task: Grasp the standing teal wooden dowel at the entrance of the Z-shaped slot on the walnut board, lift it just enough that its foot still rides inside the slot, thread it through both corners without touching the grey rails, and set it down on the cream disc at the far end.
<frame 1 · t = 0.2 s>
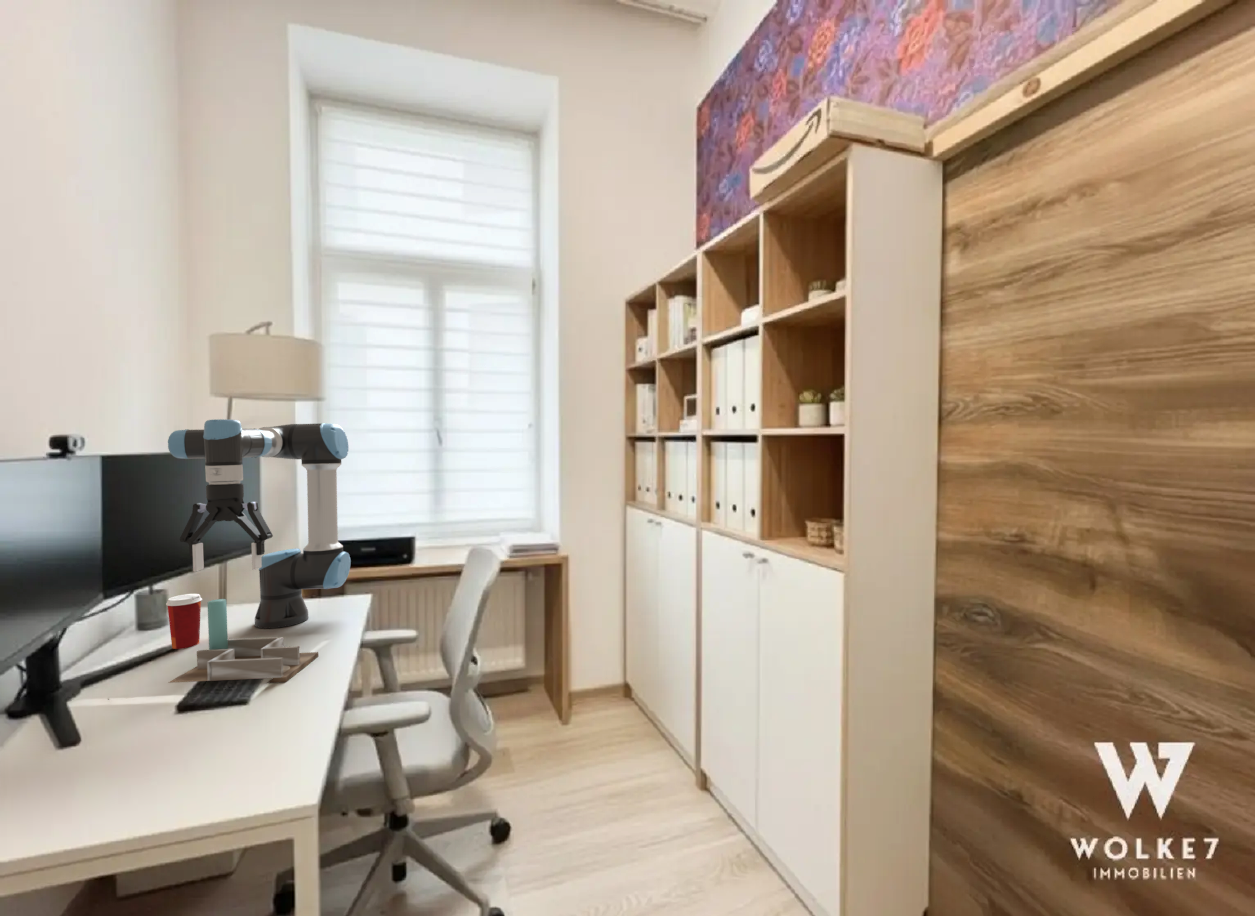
hand: (227, 569, 141), 27 cm above the table, fingers open, 13 cm apart
coffee cup: (185, 649, 164), on the table
teal dowel: (219, 662, 150), point 1 cm above the table, touching slot board
slot board: (248, 670, 147), on the table
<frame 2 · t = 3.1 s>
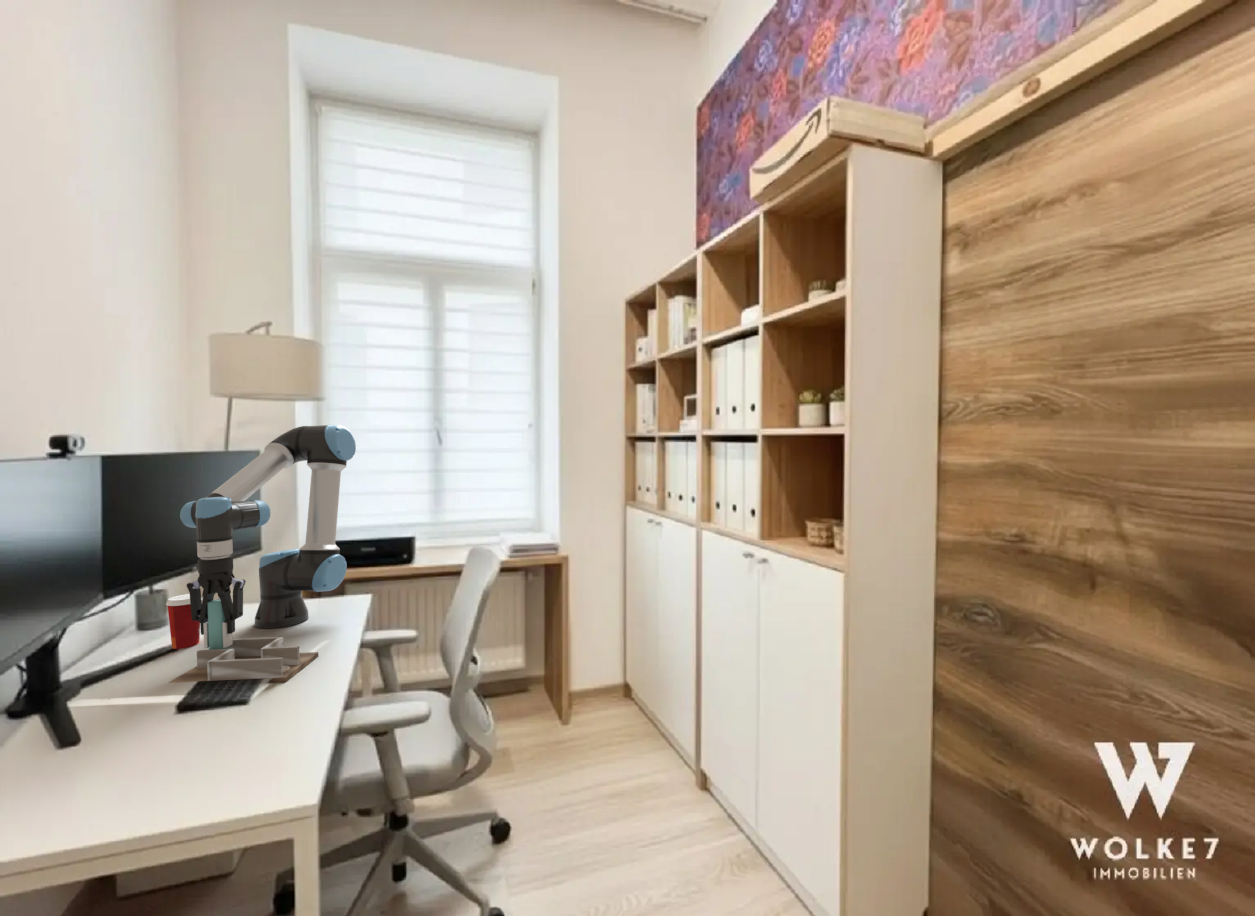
hand: (218, 645, 150), 5 cm above the table, fingers closed on teal dowel, 4 cm apart
teal dowel: (219, 662, 151), point 1 cm above the table, touching gripper, slot board
everything else where it was.
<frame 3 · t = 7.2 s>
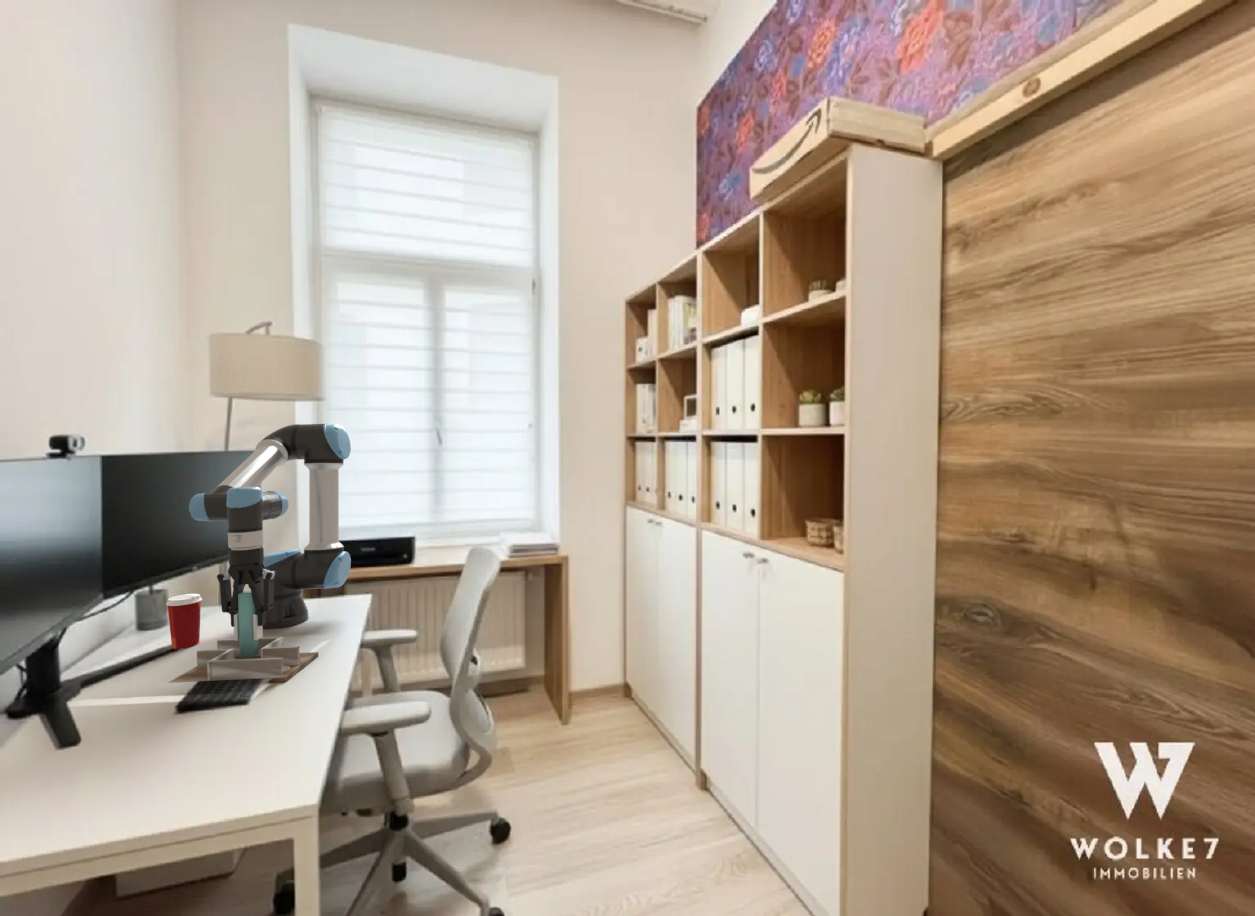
hand: (248, 638, 148), 8 cm above the table, fingers closed on teal dowel, 4 cm apart
teal dowel: (249, 654, 148), point 4 cm above the table, touching gripper
everything else where it was.
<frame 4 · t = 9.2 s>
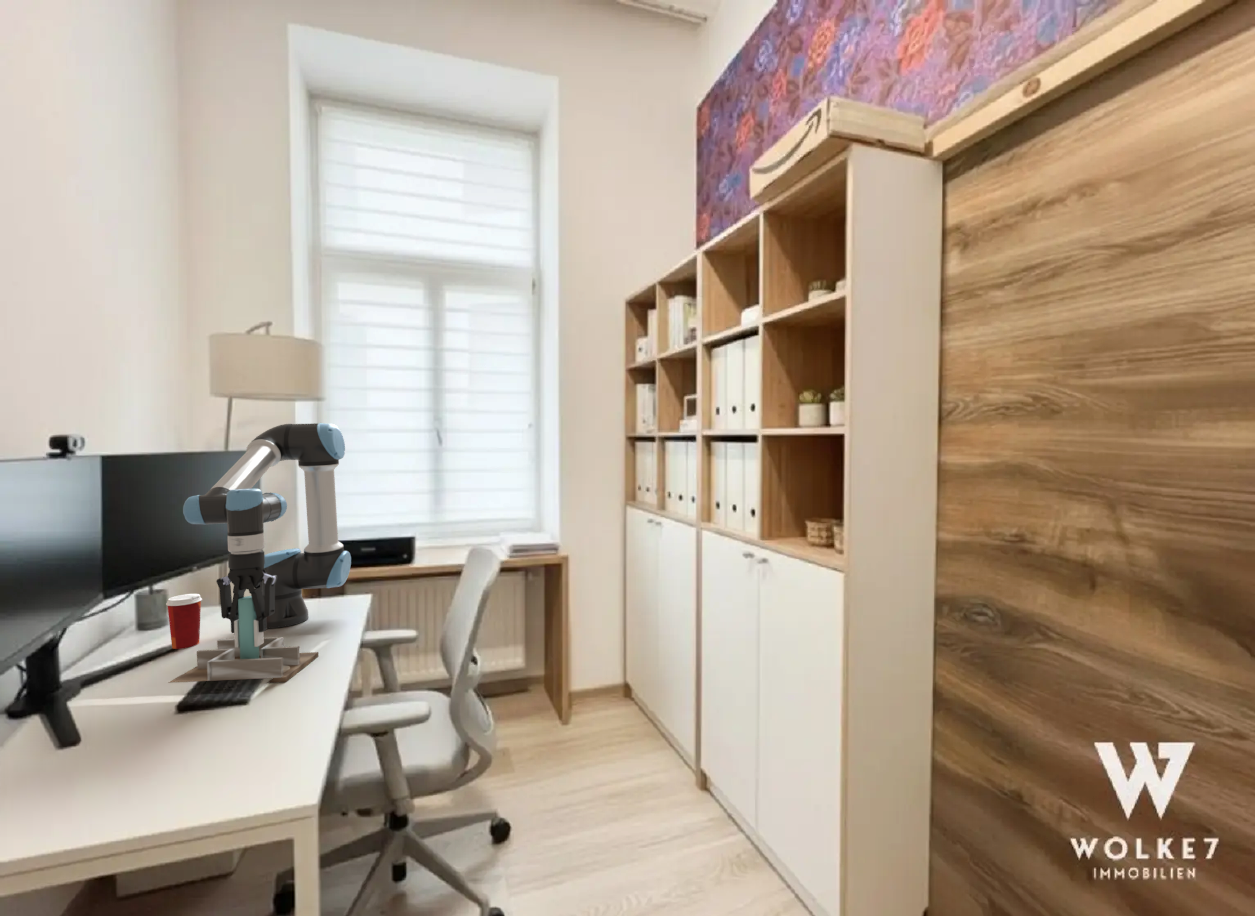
hand: (249, 644, 143), 8 cm above the table, fingers closed on teal dowel, 4 cm apart
teal dowel: (249, 661, 143), point 4 cm above the table, touching gripper
everything else where it was.
when the fingers open (6 cm above the table, at t = 11.1 s): teal dowel stays where it is, resting on slot board.
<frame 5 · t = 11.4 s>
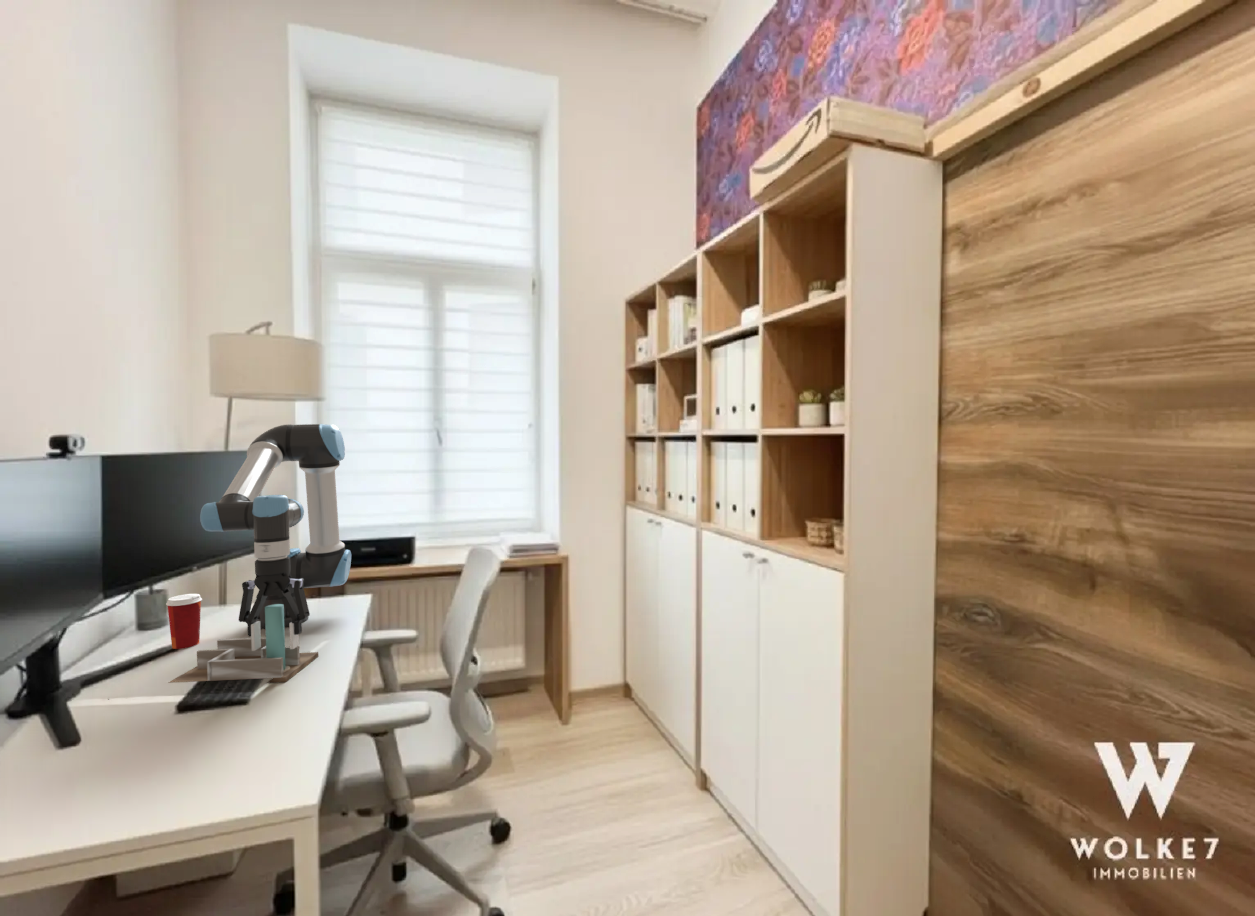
hand: (275, 648, 144), 7 cm above the table, fingers open, 8 cm apart
teal dowel: (276, 670, 144), point 1 cm above the table, touching slot board
everything else where it was.
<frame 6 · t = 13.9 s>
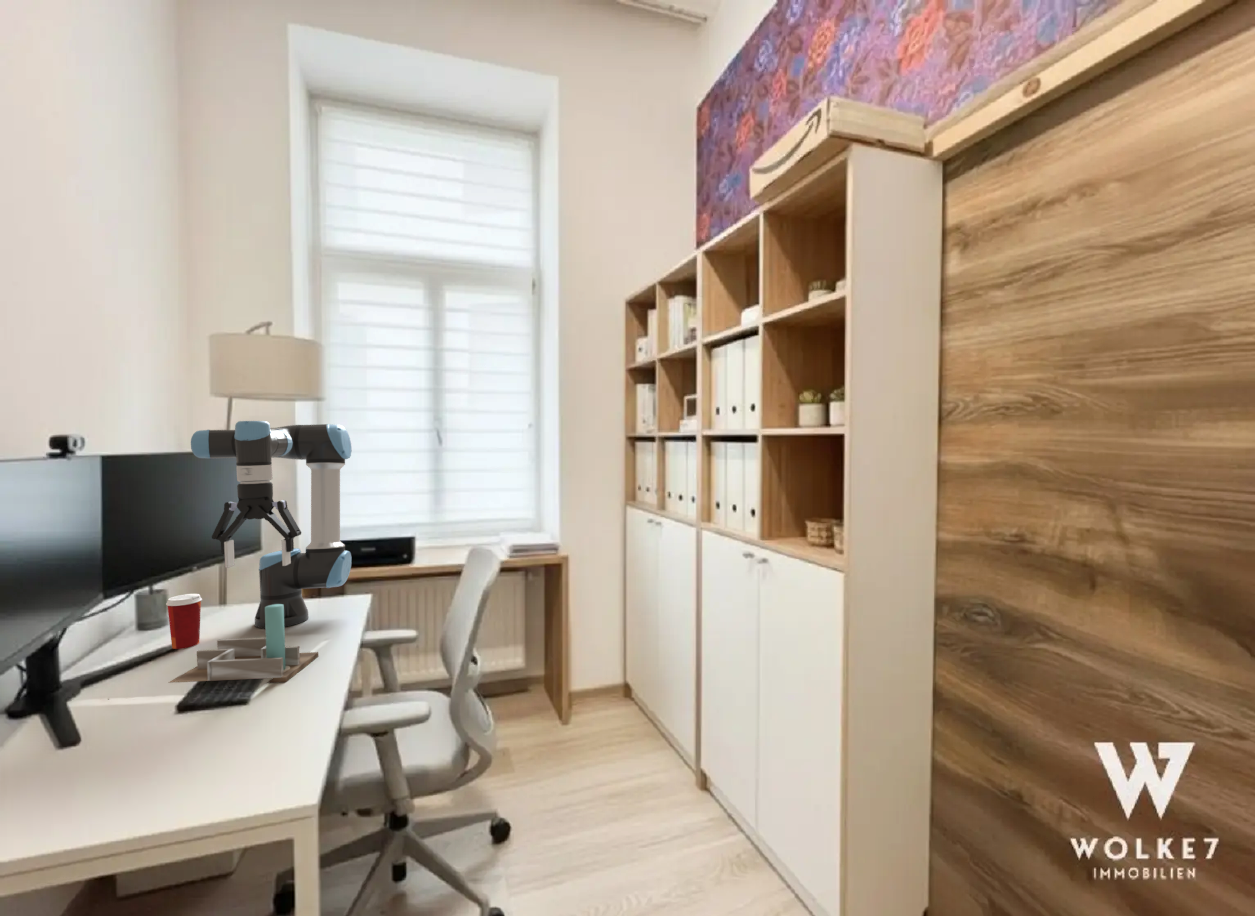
hand: (258, 565, 146), 27 cm above the table, fingers open, 13 cm apart
nothing on the table moved.
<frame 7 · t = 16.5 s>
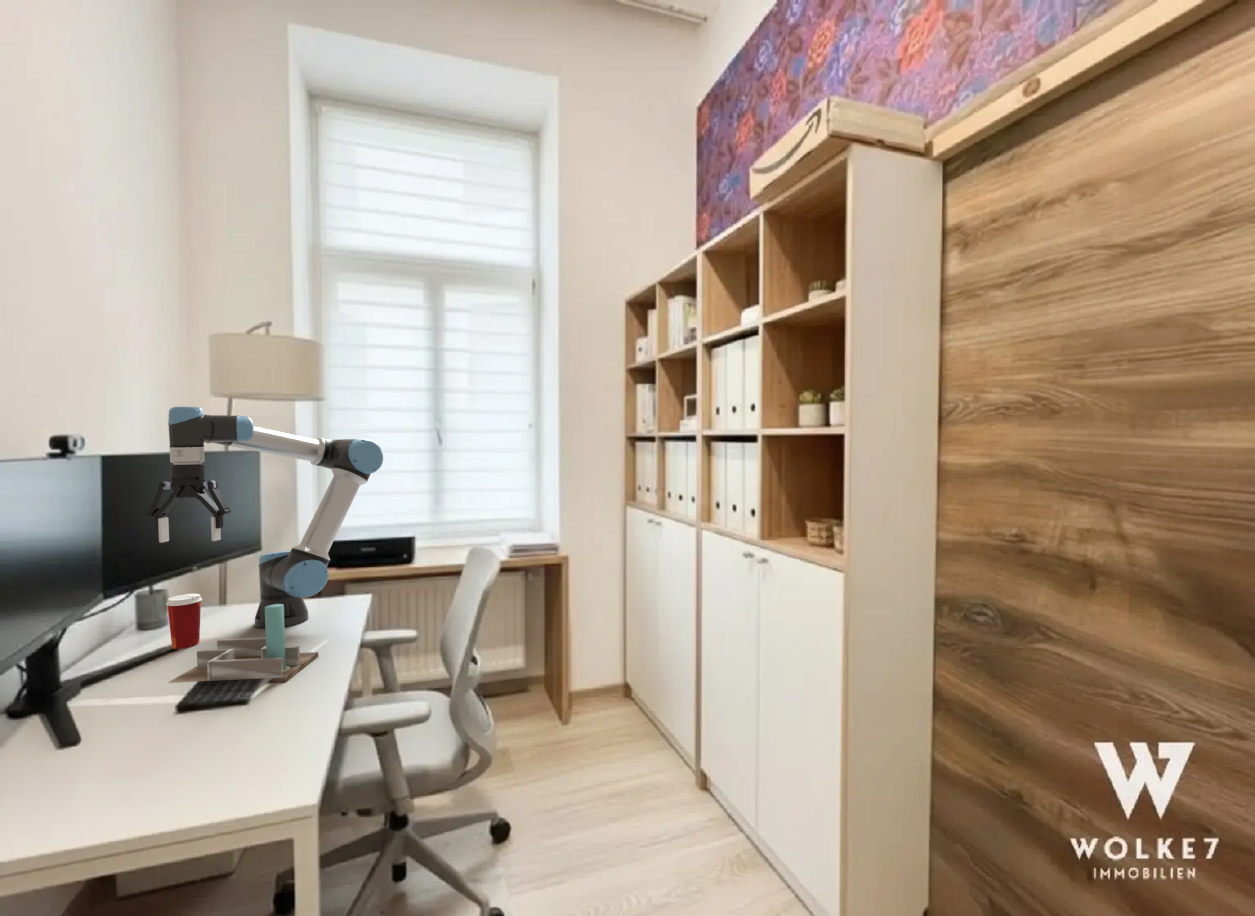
hand: (190, 541, 158), 32 cm above the table, fingers open, 13 cm apart
nothing on the table moved.
at the end: teal dowel 0.0 cm from the target spot on the slot board, point 1.4 cm above the slot board's base; teal dowel tilted 0°; the gripper is holding nothing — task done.
